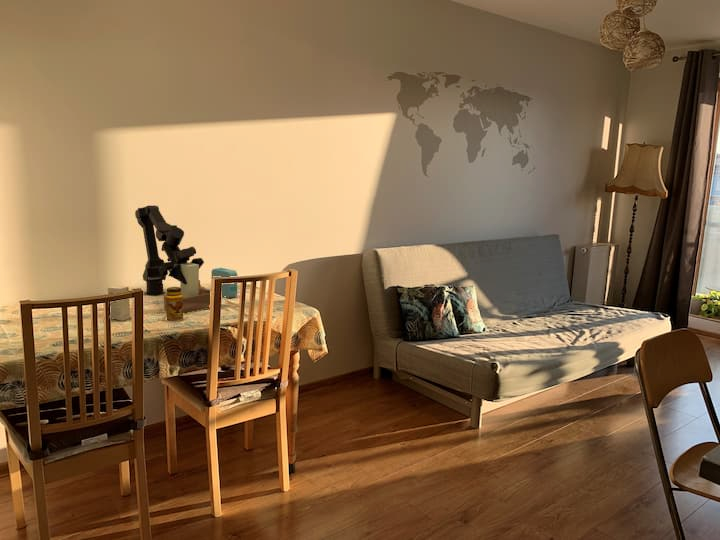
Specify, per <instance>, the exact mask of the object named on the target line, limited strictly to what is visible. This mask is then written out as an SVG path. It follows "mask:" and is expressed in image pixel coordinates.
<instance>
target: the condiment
mask: <svg viewBox="0 0 720 540" xmlns="http://www.w3.org/2000/svg"><path fill="white" fill-rule="evenodd" d="M181 293H182V292H181V288H180V287H178V286H171V287H168V288H166V294H165V295H166V310H165V311H166V314H165V316H164V317H161V318H158V319H159V320H158V321H167V322H172V321H173V323H179V322H181V321H183V320H182V319H184V320H186V319H188V318H189V317H188V316H184V314H183V296H182V294H181ZM166 317H167V320H164V319H165V318H166Z"/></svg>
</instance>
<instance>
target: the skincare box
mask: <svg viewBox="0 0 720 540" xmlns="http://www.w3.org/2000/svg"><path fill="white" fill-rule="evenodd" d="M129 289H130V288H129V286H124V285H123V286H122V285H113V286H112V285H111V286H108V287H107V295H108V294H114V293H121V292H126V291H129V292H130V290H129ZM130 305H131V304H130V298H129V299H124V300H119V301H113V302H111V303H110V306H111V318H113V319H117V320H116V321H125V320H129V319H131V307H130ZM113 319H112V320H113Z"/></svg>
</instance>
